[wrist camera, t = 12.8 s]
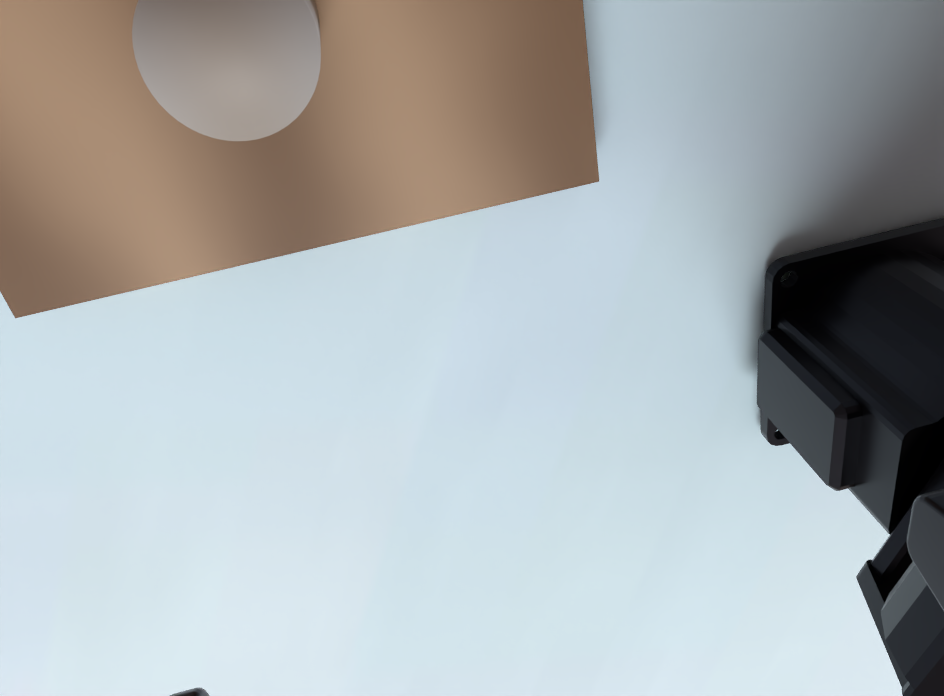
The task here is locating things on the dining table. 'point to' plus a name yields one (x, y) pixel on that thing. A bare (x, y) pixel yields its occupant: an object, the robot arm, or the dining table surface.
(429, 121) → the post stand
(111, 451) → the dining table surface
